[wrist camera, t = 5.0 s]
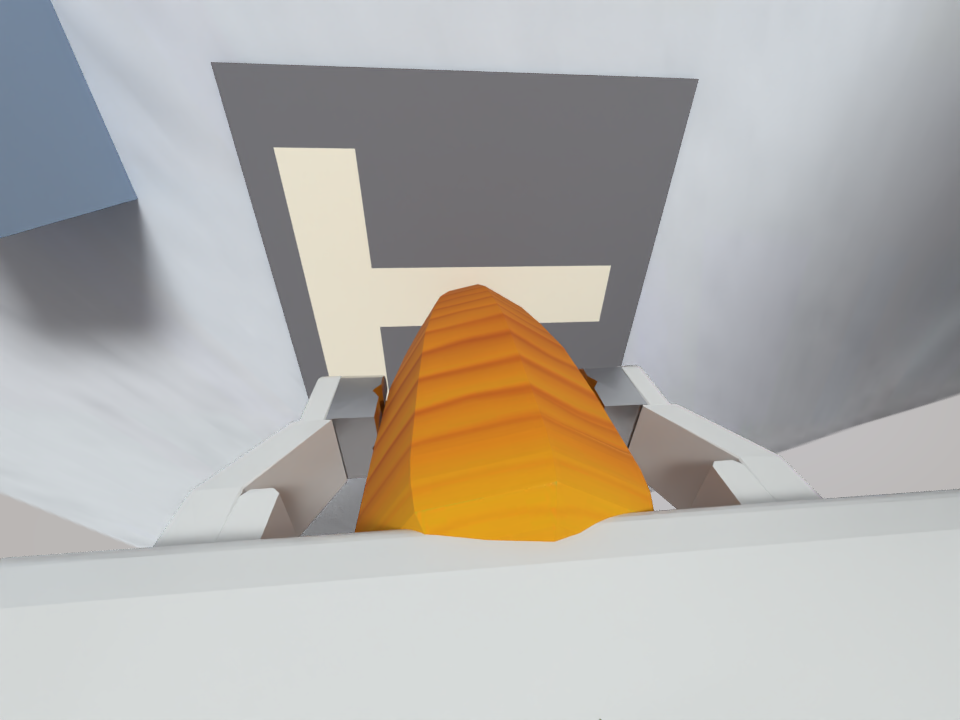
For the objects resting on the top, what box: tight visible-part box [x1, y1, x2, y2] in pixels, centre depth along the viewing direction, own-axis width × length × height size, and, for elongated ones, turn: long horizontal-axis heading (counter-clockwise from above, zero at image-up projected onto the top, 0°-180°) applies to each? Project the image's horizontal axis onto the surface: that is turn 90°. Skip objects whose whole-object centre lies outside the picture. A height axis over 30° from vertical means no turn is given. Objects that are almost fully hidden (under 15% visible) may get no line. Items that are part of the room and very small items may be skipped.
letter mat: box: [211, 62, 699, 401], centre depth 15 cm, size 14×14×1 cm
